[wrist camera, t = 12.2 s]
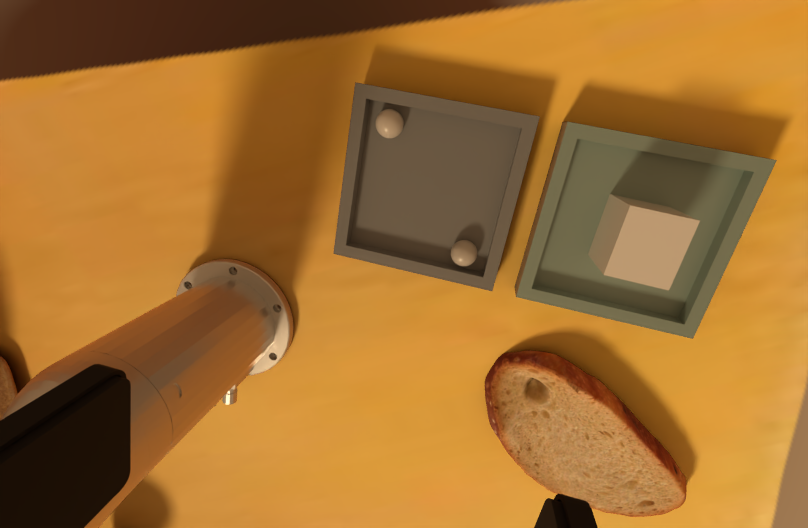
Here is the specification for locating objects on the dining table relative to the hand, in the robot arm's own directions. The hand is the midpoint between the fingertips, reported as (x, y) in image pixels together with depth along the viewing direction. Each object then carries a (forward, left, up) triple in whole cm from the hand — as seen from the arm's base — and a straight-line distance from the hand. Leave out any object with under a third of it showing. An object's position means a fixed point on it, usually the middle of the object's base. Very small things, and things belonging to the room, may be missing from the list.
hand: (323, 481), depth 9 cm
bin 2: (+2, -14, -29) cm, 32 cm away
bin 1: (+2, +2, -29) cm, 29 cm away
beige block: (+2, -14, -28) cm, 31 cm away
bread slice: (-17, -17, -30) cm, 38 cm away
